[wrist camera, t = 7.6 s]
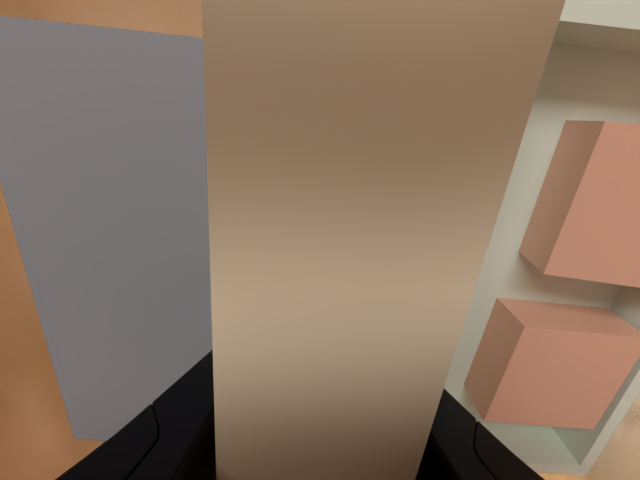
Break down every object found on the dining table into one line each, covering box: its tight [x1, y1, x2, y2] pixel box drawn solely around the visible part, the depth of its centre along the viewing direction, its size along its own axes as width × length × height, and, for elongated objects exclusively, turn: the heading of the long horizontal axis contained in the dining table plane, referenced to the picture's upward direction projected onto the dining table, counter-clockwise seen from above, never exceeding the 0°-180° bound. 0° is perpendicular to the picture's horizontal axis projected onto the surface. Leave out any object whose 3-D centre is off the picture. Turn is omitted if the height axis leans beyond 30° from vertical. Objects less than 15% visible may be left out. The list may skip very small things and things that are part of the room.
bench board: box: [0, 16, 213, 441], centre depth 12 cm, size 14×13×4 cm
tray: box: [444, 0, 640, 475], centre depth 13 cm, size 18×9×2 cm, turn 175°
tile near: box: [519, 120, 640, 288], centre depth 11 cm, size 5×5×2 cm
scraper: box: [202, 0, 566, 480], centre depth 7 cm, size 14×3×5 cm, turn 174°
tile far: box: [464, 297, 640, 430], centre depth 14 cm, size 5×5×2 cm
